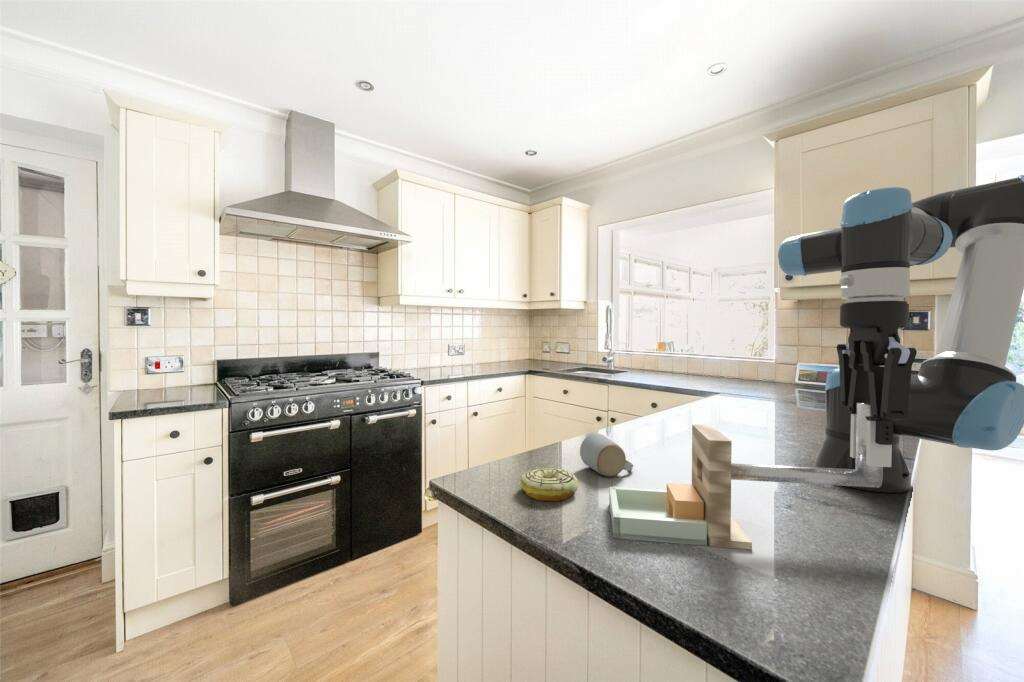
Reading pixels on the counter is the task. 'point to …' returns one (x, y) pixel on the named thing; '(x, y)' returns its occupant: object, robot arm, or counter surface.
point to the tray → (651, 518)
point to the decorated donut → (549, 484)
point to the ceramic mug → (604, 455)
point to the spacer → (684, 502)
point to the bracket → (715, 486)
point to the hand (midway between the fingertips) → (869, 461)
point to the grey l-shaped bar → (824, 476)
